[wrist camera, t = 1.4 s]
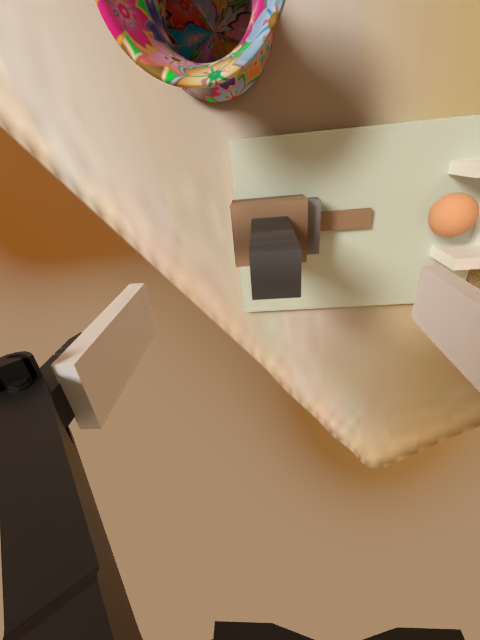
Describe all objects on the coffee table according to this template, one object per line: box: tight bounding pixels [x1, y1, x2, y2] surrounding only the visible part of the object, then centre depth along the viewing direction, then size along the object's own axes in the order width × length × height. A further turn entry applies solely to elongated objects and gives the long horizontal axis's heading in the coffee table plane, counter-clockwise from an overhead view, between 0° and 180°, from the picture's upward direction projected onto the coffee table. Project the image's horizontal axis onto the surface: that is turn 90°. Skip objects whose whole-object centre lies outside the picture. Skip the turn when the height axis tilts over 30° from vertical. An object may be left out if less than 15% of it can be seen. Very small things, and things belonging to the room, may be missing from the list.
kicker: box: [230, 194, 321, 300], centre depth 22 cm, size 5×7×12 cm
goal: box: [429, 158, 480, 271], centre depth 25 cm, size 8×4×4 cm, turn 5°
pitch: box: [228, 115, 480, 312], centre depth 28 cm, size 16×22×2 cm
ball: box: [428, 192, 479, 237], centre depth 25 cm, size 4×4×4 cm
